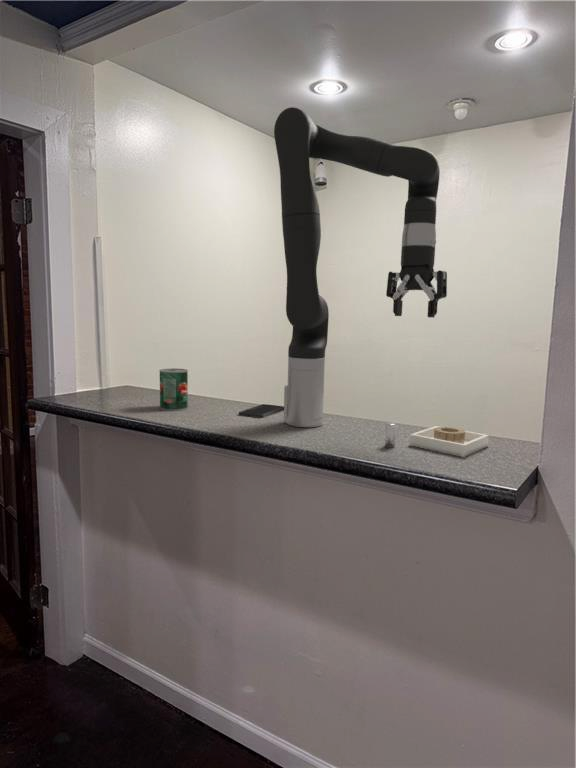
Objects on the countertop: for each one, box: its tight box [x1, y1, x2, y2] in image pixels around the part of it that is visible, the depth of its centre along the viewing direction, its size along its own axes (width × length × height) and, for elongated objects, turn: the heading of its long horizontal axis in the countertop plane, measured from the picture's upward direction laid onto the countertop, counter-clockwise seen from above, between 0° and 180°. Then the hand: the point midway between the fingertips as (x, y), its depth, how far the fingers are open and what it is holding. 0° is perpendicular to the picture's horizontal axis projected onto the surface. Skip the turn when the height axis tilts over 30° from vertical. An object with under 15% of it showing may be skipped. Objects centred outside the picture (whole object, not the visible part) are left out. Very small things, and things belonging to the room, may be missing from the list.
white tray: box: [408, 425, 490, 458], centre depth 119 cm, size 13×13×2 cm
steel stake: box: [384, 422, 397, 448], centre depth 118 cm, size 2×2×5 cm
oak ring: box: [434, 426, 466, 444], centre depth 119 cm, size 6×6×3 cm
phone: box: [238, 403, 284, 419], centre depth 152 cm, size 8×1×15 cm
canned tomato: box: [158, 368, 189, 412], centre depth 154 cm, size 8×8×11 cm
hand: (414, 316), depth 126 cm, fingers open, 8 cm apart
